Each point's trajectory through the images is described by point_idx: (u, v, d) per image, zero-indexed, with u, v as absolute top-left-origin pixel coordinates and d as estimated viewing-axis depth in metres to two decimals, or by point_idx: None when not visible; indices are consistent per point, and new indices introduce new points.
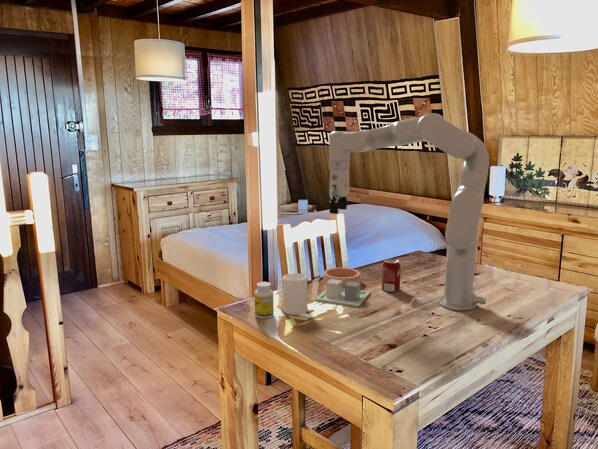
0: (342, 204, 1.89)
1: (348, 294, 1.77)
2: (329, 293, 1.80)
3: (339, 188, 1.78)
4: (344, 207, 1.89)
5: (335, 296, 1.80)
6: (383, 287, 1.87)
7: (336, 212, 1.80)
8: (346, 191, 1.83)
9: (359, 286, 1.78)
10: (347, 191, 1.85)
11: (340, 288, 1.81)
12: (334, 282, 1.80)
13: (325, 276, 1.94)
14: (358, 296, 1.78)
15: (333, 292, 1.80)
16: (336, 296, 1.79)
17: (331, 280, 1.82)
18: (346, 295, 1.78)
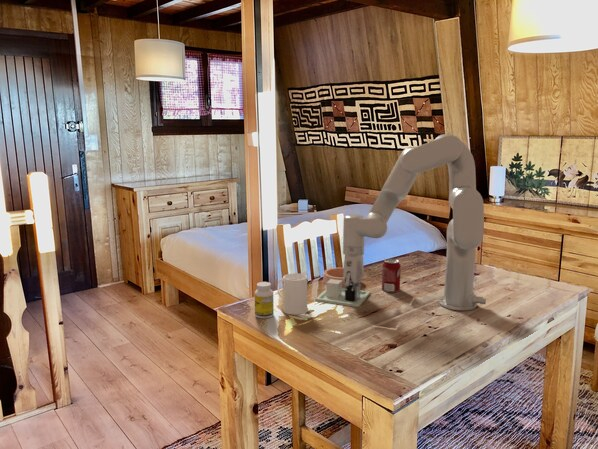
0: None
1: None
2: (329, 293, 1.80)
3: (353, 274, 1.72)
4: None
5: (335, 296, 1.80)
6: (383, 287, 1.87)
7: (352, 300, 1.76)
8: (361, 275, 1.77)
9: (359, 286, 1.78)
10: (361, 275, 1.78)
11: (340, 288, 1.81)
12: (334, 282, 1.80)
13: (325, 276, 1.94)
14: (358, 296, 1.78)
15: (333, 292, 1.80)
16: (336, 296, 1.79)
17: (331, 280, 1.82)
18: None
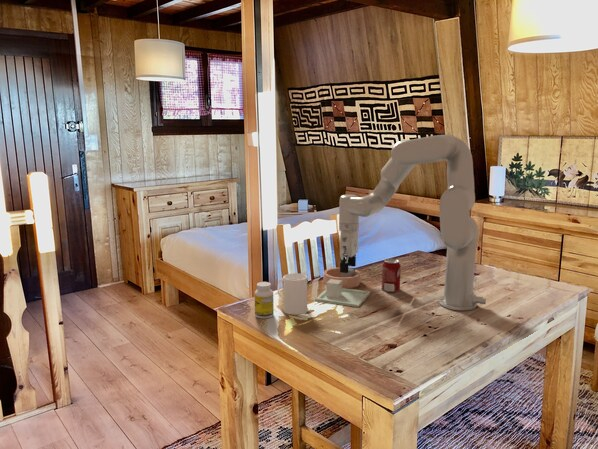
0: (351, 261, 1.99)
1: None
2: (329, 293, 1.80)
3: (348, 249, 1.88)
4: (353, 264, 1.99)
5: (335, 296, 1.80)
6: (383, 287, 1.87)
7: (346, 271, 1.90)
8: (355, 250, 1.93)
9: (354, 271, 1.95)
10: (356, 250, 1.95)
11: (340, 288, 1.81)
12: (334, 282, 1.80)
13: (325, 276, 1.94)
14: None
15: (333, 292, 1.80)
16: (336, 296, 1.79)
17: (331, 280, 1.82)
18: None
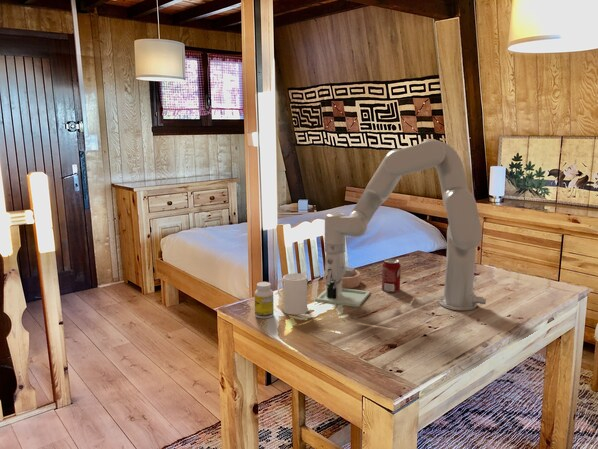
0: None
1: None
2: None
3: (334, 272, 1.75)
4: None
5: None
6: (383, 287, 1.87)
7: (334, 297, 1.79)
8: (342, 273, 1.80)
9: (354, 271, 1.95)
10: (343, 273, 1.81)
11: (340, 288, 1.81)
12: None
13: None
14: None
15: None
16: (336, 296, 1.79)
17: None
18: None
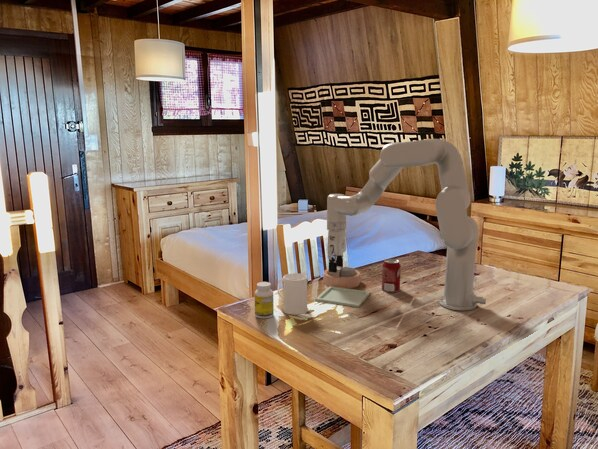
0: (338, 262, 2.00)
1: None
2: None
3: (336, 248, 1.90)
4: (340, 265, 2.00)
5: None
6: (383, 287, 1.87)
7: (335, 271, 1.93)
8: (343, 249, 1.95)
9: (354, 271, 1.95)
10: (344, 249, 1.96)
11: None
12: None
13: (325, 276, 1.94)
14: None
15: None
16: None
17: None
18: None
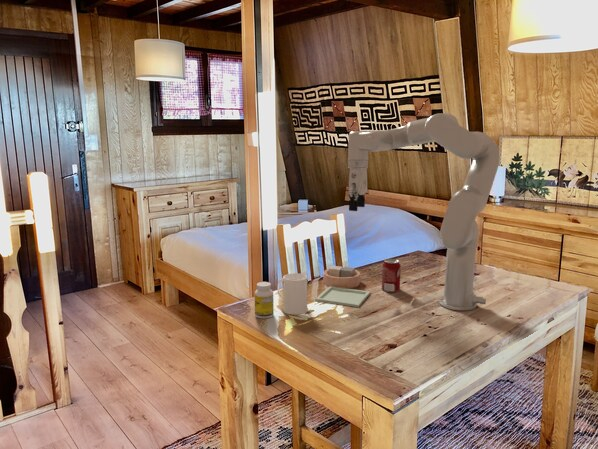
0: (360, 202, 1.95)
1: None
2: None
3: (358, 186, 1.84)
4: (362, 205, 1.95)
5: None
6: (383, 287, 1.87)
7: (355, 209, 1.86)
8: (364, 189, 1.89)
9: (354, 271, 1.95)
10: (365, 189, 1.91)
11: None
12: (335, 268, 1.96)
13: (325, 276, 1.94)
14: None
15: None
16: None
17: (333, 266, 1.99)
18: None
